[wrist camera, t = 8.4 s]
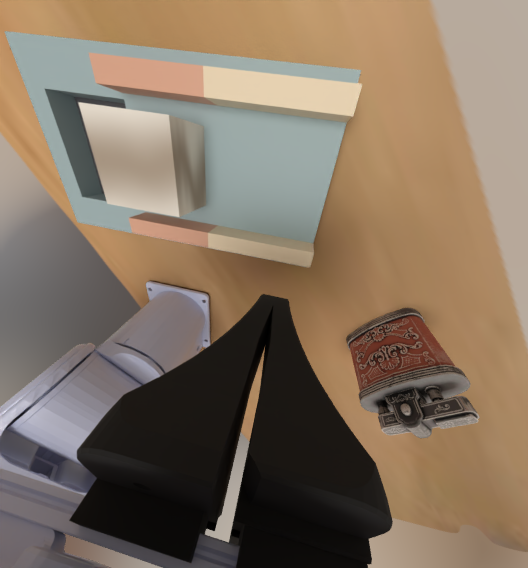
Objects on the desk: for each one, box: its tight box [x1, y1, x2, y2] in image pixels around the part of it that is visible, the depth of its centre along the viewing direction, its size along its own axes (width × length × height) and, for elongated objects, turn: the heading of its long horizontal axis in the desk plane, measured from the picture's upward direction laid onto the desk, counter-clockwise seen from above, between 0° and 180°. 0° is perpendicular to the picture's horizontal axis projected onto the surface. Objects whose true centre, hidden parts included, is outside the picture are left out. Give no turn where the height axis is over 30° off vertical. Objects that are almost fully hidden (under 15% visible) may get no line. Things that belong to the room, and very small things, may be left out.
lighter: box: [346, 308, 479, 438], centre depth 18 cm, size 8×3×10 cm, turn 137°
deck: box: [4, 31, 362, 268], centre depth 15 cm, size 12×22×4 cm, turn 83°
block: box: [78, 102, 206, 217], centre depth 13 cm, size 5×5×4 cm
